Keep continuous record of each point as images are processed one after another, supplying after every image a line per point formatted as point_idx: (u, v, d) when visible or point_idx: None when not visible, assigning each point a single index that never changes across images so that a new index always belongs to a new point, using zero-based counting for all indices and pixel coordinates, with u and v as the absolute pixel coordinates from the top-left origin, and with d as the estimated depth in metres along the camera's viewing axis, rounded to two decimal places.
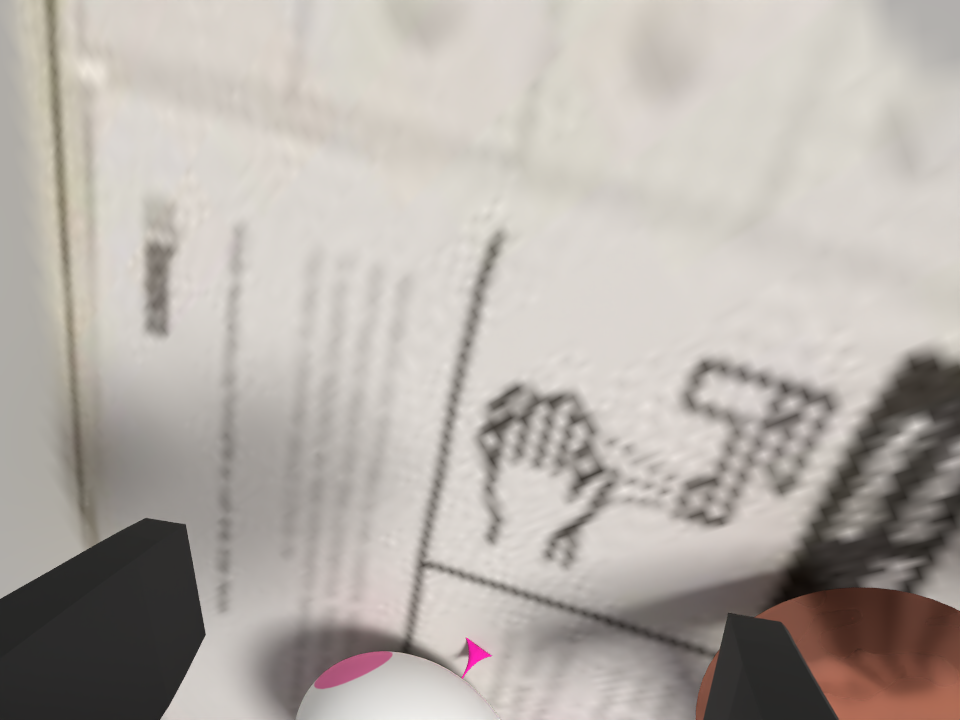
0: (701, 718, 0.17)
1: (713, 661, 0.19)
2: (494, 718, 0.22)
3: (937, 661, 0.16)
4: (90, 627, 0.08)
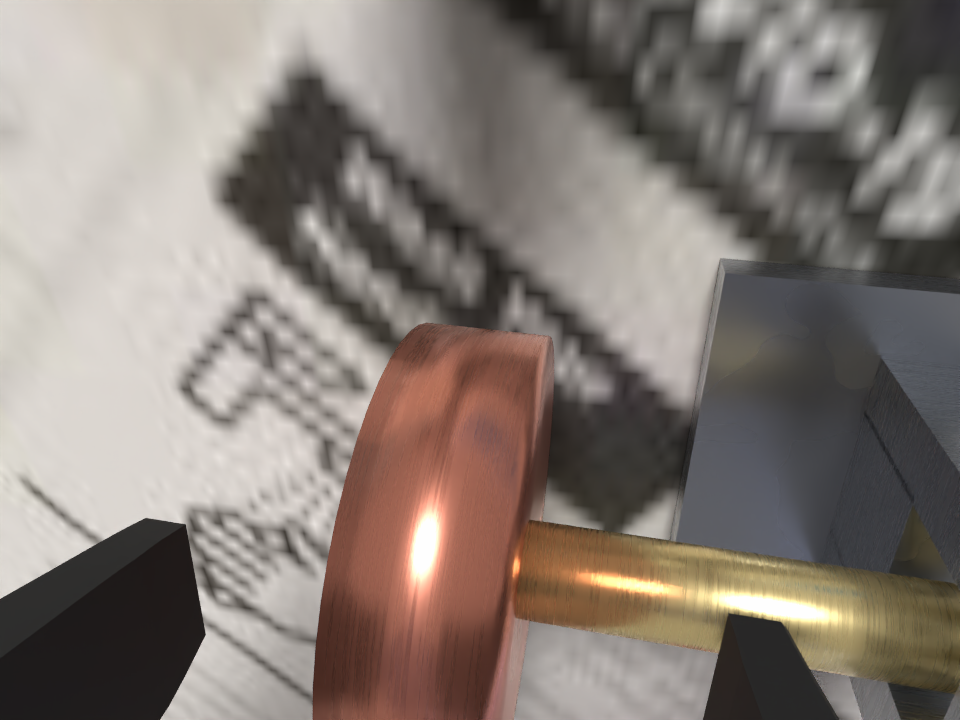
0: None
1: None
2: None
3: None
4: (91, 627, 0.08)
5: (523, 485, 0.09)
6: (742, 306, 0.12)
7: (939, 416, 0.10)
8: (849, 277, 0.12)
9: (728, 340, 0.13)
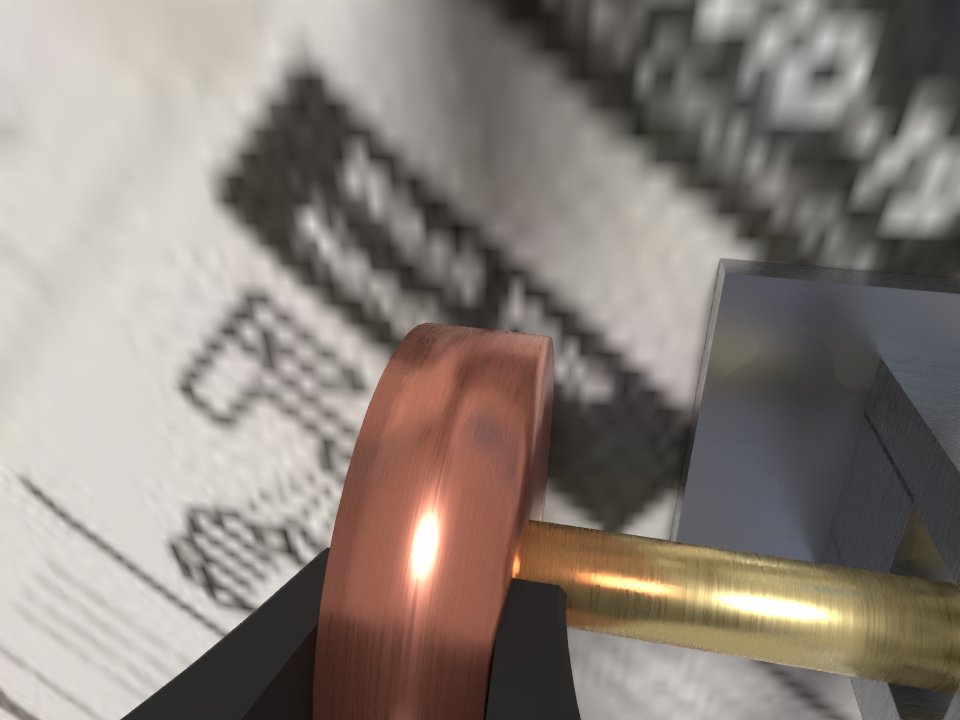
0: None
1: None
2: None
3: None
4: (308, 670, 0.08)
5: (523, 485, 0.09)
6: (742, 306, 0.12)
7: (939, 416, 0.10)
8: (849, 277, 0.12)
9: (728, 340, 0.13)
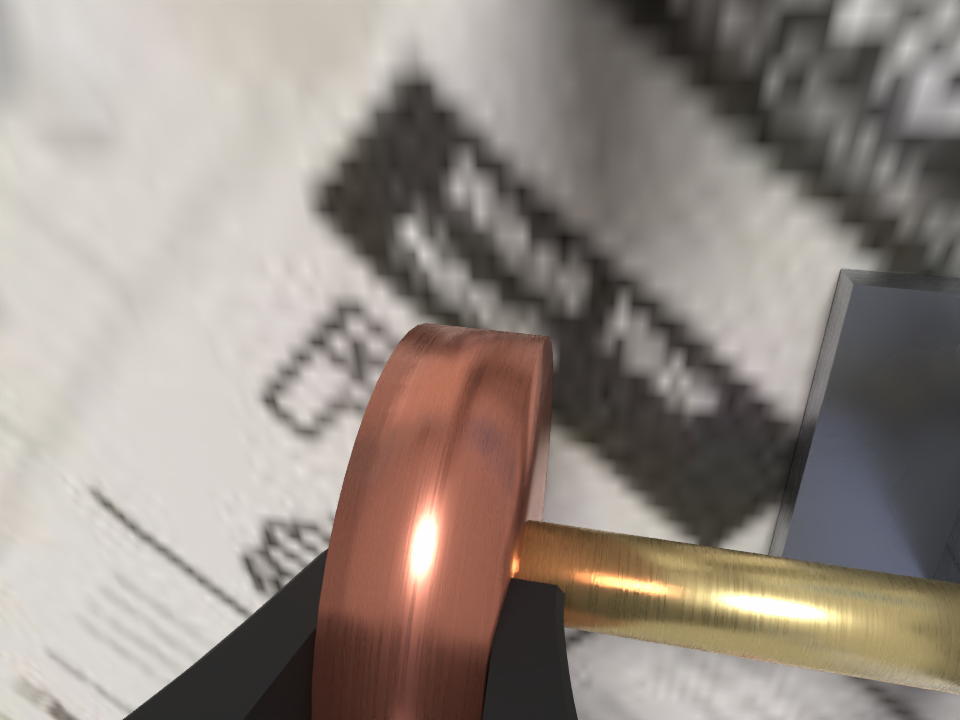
0: None
1: None
2: None
3: None
4: (309, 669, 0.08)
5: (522, 485, 0.09)
6: (869, 318, 0.12)
7: None
8: None
9: (852, 353, 0.12)
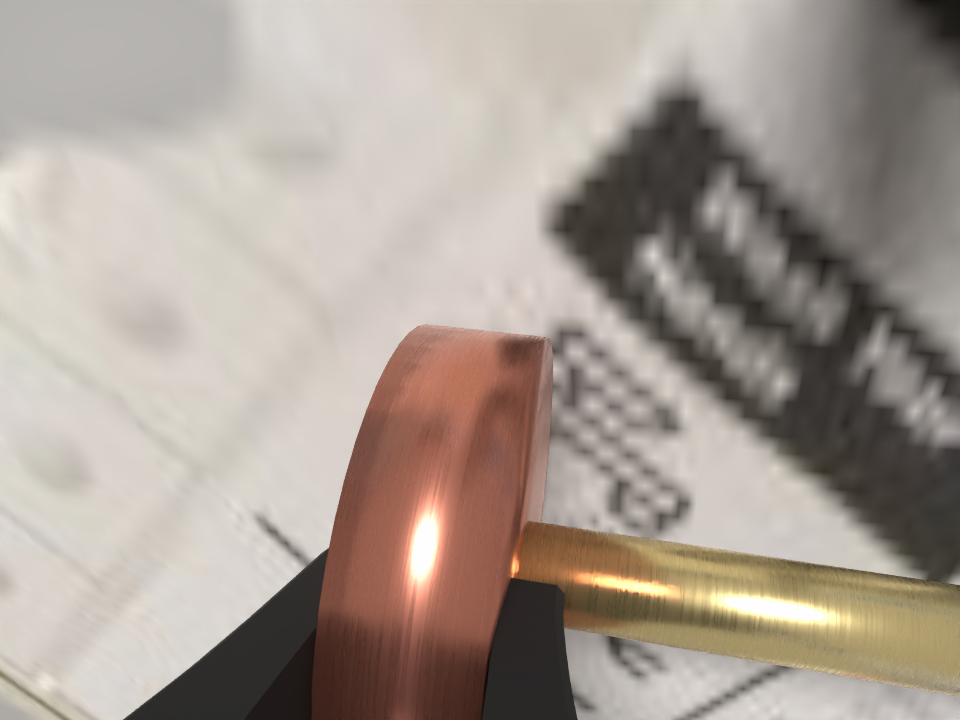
0: None
1: None
2: None
3: None
4: (309, 669, 0.08)
5: (521, 486, 0.09)
6: None
7: None
8: None
9: None
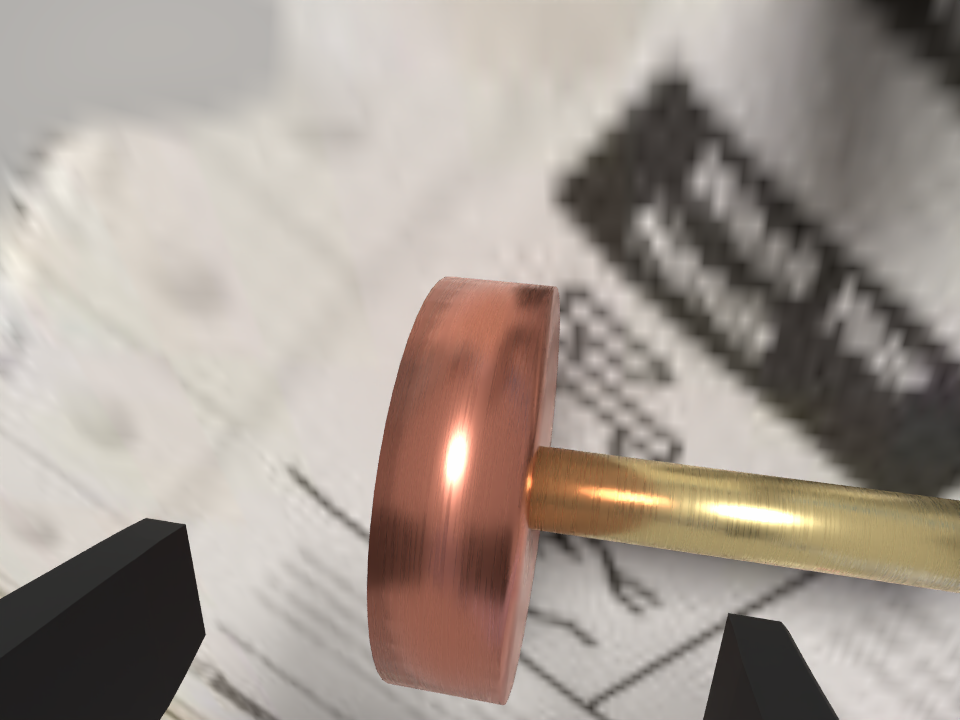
0: None
1: None
2: None
3: None
4: (90, 627, 0.08)
5: (536, 405, 0.11)
6: None
7: None
8: None
9: None
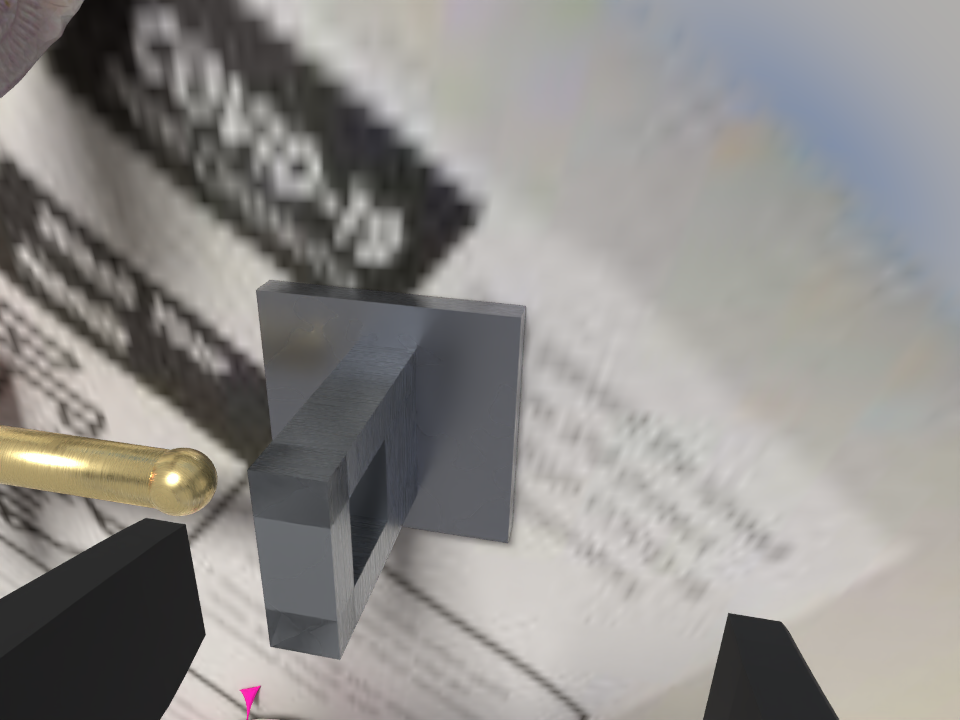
0: None
1: None
2: None
3: None
4: (90, 627, 0.08)
5: None
6: (271, 310, 0.19)
7: (337, 376, 0.17)
8: (333, 293, 0.19)
9: (269, 332, 0.20)
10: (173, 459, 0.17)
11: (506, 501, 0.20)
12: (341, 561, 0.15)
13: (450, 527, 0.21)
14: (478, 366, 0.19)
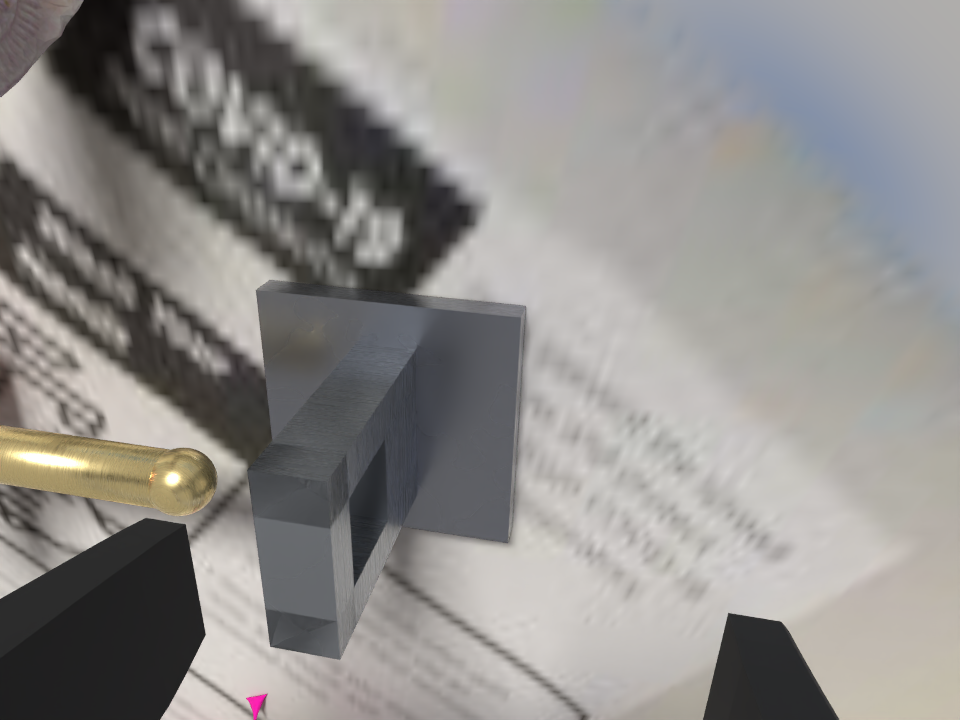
0: None
1: None
2: None
3: None
4: (90, 627, 0.08)
5: None
6: (271, 310, 0.19)
7: (337, 376, 0.17)
8: (333, 293, 0.19)
9: (269, 332, 0.20)
10: (173, 459, 0.17)
11: (506, 501, 0.20)
12: (341, 561, 0.15)
13: (450, 527, 0.21)
14: (478, 366, 0.19)
